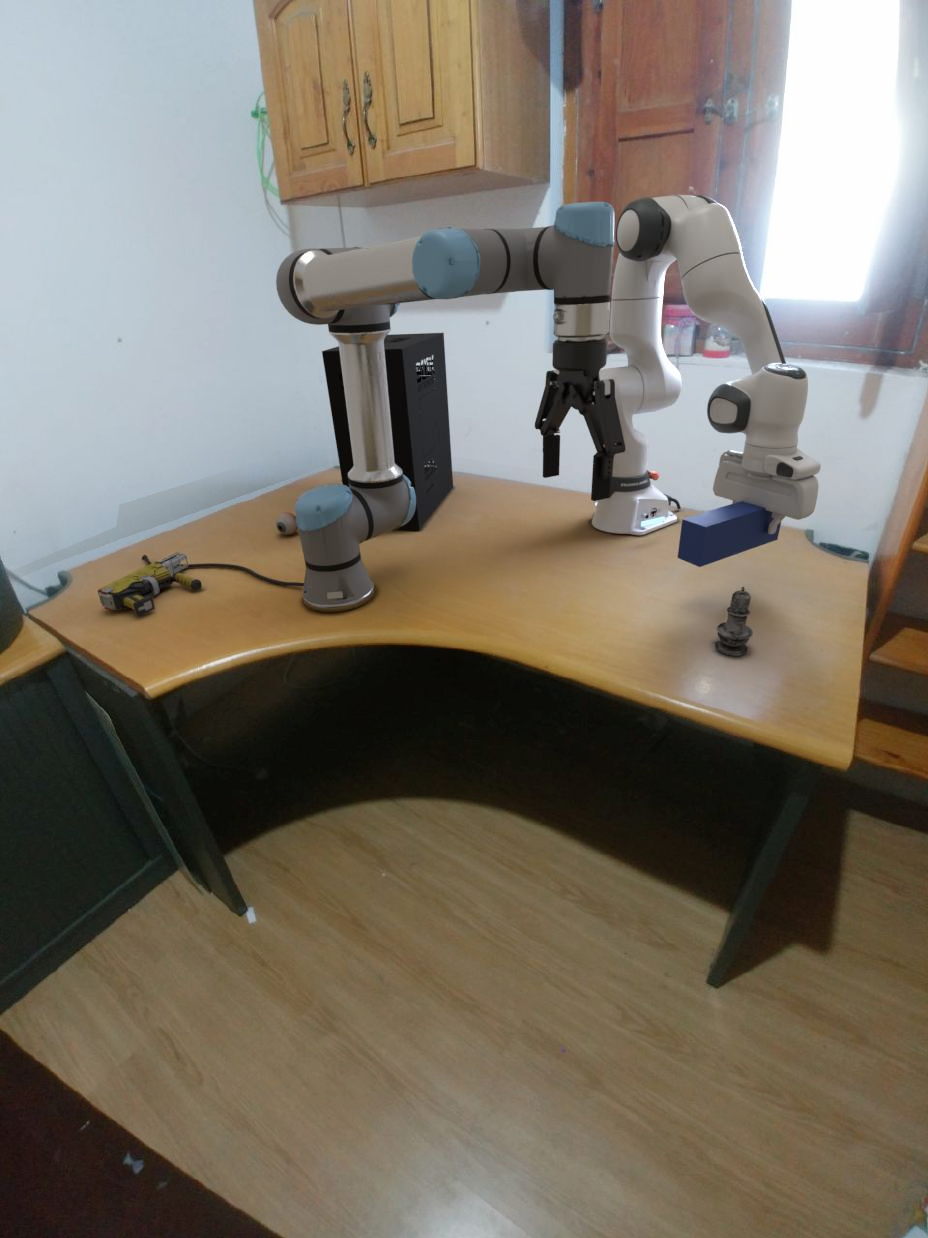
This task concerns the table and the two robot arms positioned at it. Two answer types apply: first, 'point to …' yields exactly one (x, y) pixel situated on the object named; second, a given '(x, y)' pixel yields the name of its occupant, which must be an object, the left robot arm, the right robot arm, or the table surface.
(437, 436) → the black tall block
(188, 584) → the toy gun
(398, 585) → the table surface
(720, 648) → the chess piece
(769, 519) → the bar
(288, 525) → the eyeball
